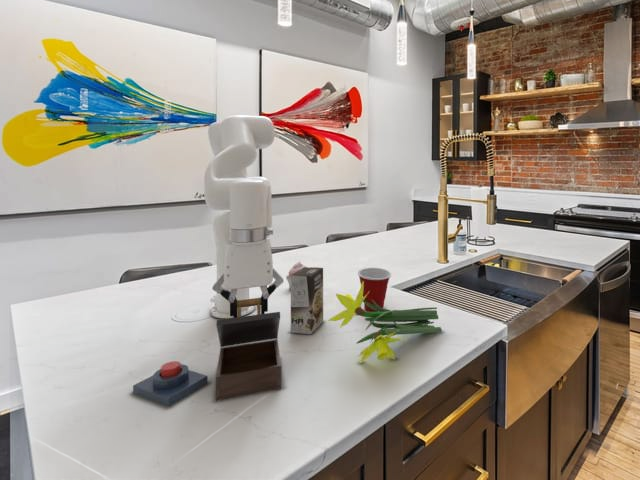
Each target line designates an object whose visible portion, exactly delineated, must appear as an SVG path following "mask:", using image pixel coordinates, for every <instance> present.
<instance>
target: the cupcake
mask: <svg viewBox="0 0 640 480" xmlns="http://www.w3.org/2000/svg"><path fill="white" fill-rule="evenodd" d="M304 267H307V266H306V265H305V264H302V263H301V261H299V262H296V263H295V264H294V265H292V268H291V269H289V271H288V275H285V276H286V277H285V279H286V281H287V284H288V287H289V290H290V291H291V275H292V274H294V273H295V272H297V271H299V270H300V269H302V268H304Z"/></svg>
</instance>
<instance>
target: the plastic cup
mask: <svg viewBox="0 0 640 480" xmlns="http://www.w3.org/2000/svg"><path fill="white" fill-rule="evenodd" d="M357 275H358V277H359V282H360V285H361V284H362V282H363V281H364V288H363V297H364V296H366V295H367V296H366V297H365V299H364V301H366V302H368V303H370V304H372V305H374V306H376V305H375V304H374V302H375V303H376V304H377V305H378V306H380V307H381V308H382V309H384V307H385V306H384V305H385V301H386V295H387V289H388V284H389V281H390V278H391V277H392V272H391V271H389V270H387V269H385V268H381V267H364V268H361V269H358V270H357ZM368 292H369V293H368ZM363 297H362V298H363ZM372 300H373V301H374V302H373V301H372ZM363 305H364V309H365V311H368V312H378V311H375V310H373V309H371V308H370V307H369V306H367V305H366V304H365V303H364V302H363ZM376 307H377V306H376Z"/></svg>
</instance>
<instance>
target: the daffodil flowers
mask: <svg viewBox="0 0 640 480" xmlns="http://www.w3.org/2000/svg"><path fill="white" fill-rule="evenodd" d="M363 288H364V281H363V282H362V284H361V283H360V288H359V291H358V292H357V295H356V298H355V299H354V298H353V297H352V295H351V294H350V293H347V294H345V295H343V294H339V293H335V294H336V298H337V300H338V301H339V303H340V305H342V306H343V307H344V308H346V309H344V310H342V311H341V312H339V313H337V314H336V315H334V316H332V317H331V318H329V319H328V320H327V322H337V321H341V320H343V321H342V322H341V324H340V326H339V329H341V328H342V327H344V326H346V325H348V324H349V322H350V321H351V320H352V319H353V317H354V316H355V317H359V316H360V317H364V320H365V321H366V322H369V324H368V325H367V327H366V328H365V331H367V330H368V329H369V328H370V327H371V326H372V327H374V328H378V329H379V330H378V331H374V332H372V333H368V334H367V335H365V336H364V337H362V338H361V339H359V340H358V341H357V342H356V344H362V343H364V342H366V341H370V342H371V344H369V346H367V347H365V348H364V349H362V350H361V351H360V353H359V354H358V356H357V358H358V357H360V356H361V358H360V364H362V363H363V362H364V361H366V360H367V359H368V358H369V357H370V356H371V355H372V354H374V353H375V352H376V351H377V359H378V360H379V361H382V360H383V361H384V360H386V359H388V357H389V358H390V359H392V360H396V357H395V354H394V352H393V350H392V348H391V346H390V344H393V343H395V342H401V341H403V342H404V341H405V342H406V341H408V340H409V338H400V337H393V336H399V335H401V336H402V335H416V334H417V335H418V334H434V333H435V334H436V333H442V328H441V326H435V325H433V324H434V323H435V321H432V320H439V314H438V307H437V306H435V307H434V306H433V307H420V308H410V309H409V308H408V309H393V310H392V309H391V310H390V309H387V308H383V309H382V308H381V307H380V306H378V305H377V304H376V303H375V302H374V301H373V300H372V301H373V302H374V304H375V305H376V306H377V307H376V306H374V305H372V304H370V303H368V302H366V301H364V299H365V297H366V296H367V295H366V296H364V297H363ZM368 293H369V292H368ZM362 303H363V304H364V303H365V304H366V305H367V306H369V307H370V308H371V309H373V310H375V311H378V312H369V311H366V310H364V309H363V308H362ZM431 324H432V325H431Z"/></svg>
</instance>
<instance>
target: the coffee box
mask: <svg viewBox="0 0 640 480" xmlns="http://www.w3.org/2000/svg"><path fill="white" fill-rule="evenodd" d="M323 322H324V267H314V266H313V267H307V266H306V267H304V268H302V269H300V270H299V271H297V272H295V273H294V274H292V275H291V290H290V333H293V334H303V335H311V334H313V333H314V331H316V330H317V329H318V328H319V327H320V326H321V324H323Z"/></svg>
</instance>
